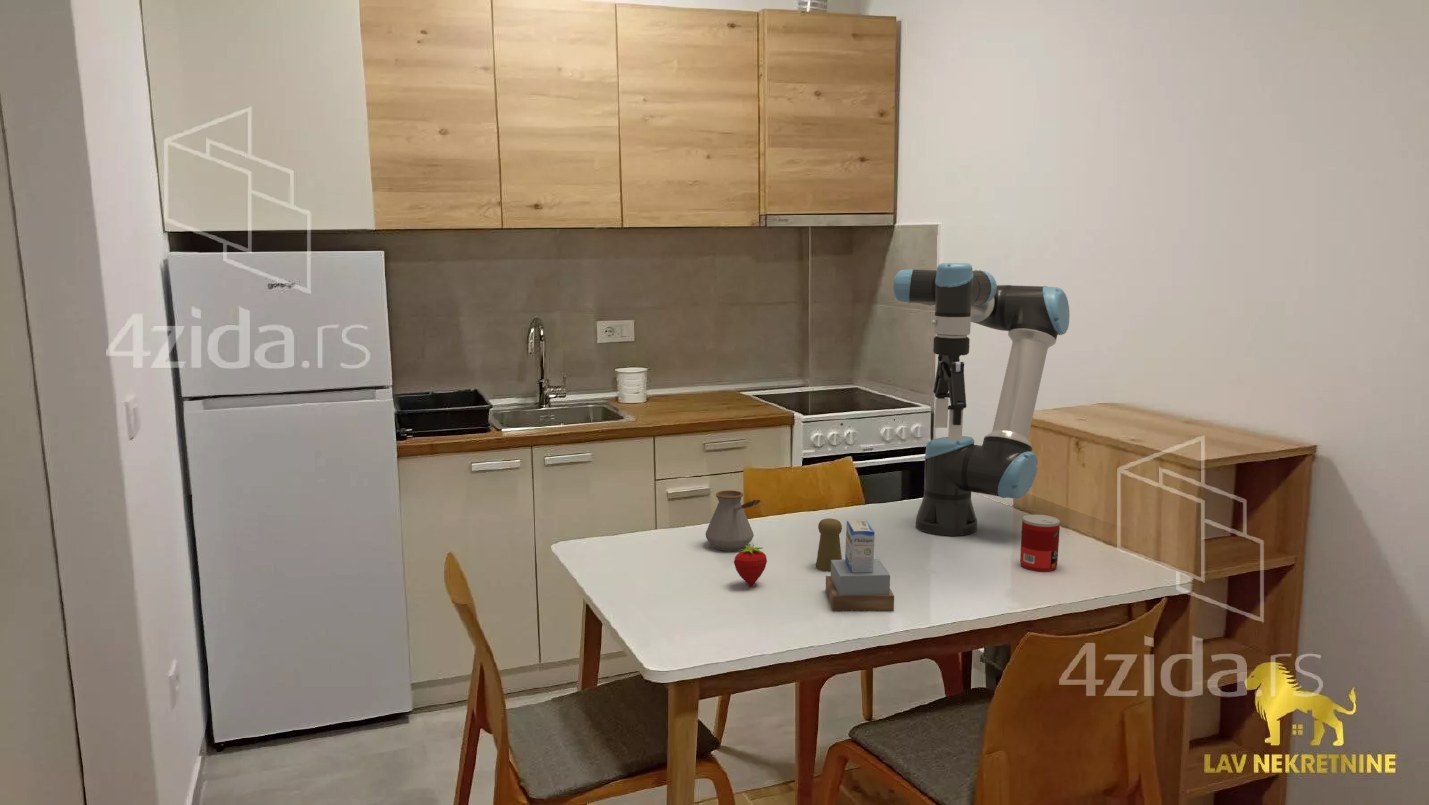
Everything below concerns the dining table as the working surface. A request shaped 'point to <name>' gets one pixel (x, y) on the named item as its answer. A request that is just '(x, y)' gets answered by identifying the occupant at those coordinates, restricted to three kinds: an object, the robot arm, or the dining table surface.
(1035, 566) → the canned food
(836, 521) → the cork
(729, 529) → the coffee pot
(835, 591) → the walnut slab
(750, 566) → the strawberry
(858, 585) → the slate slab
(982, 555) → the dining table surface
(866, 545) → the medicine box
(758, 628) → the dining table surface
